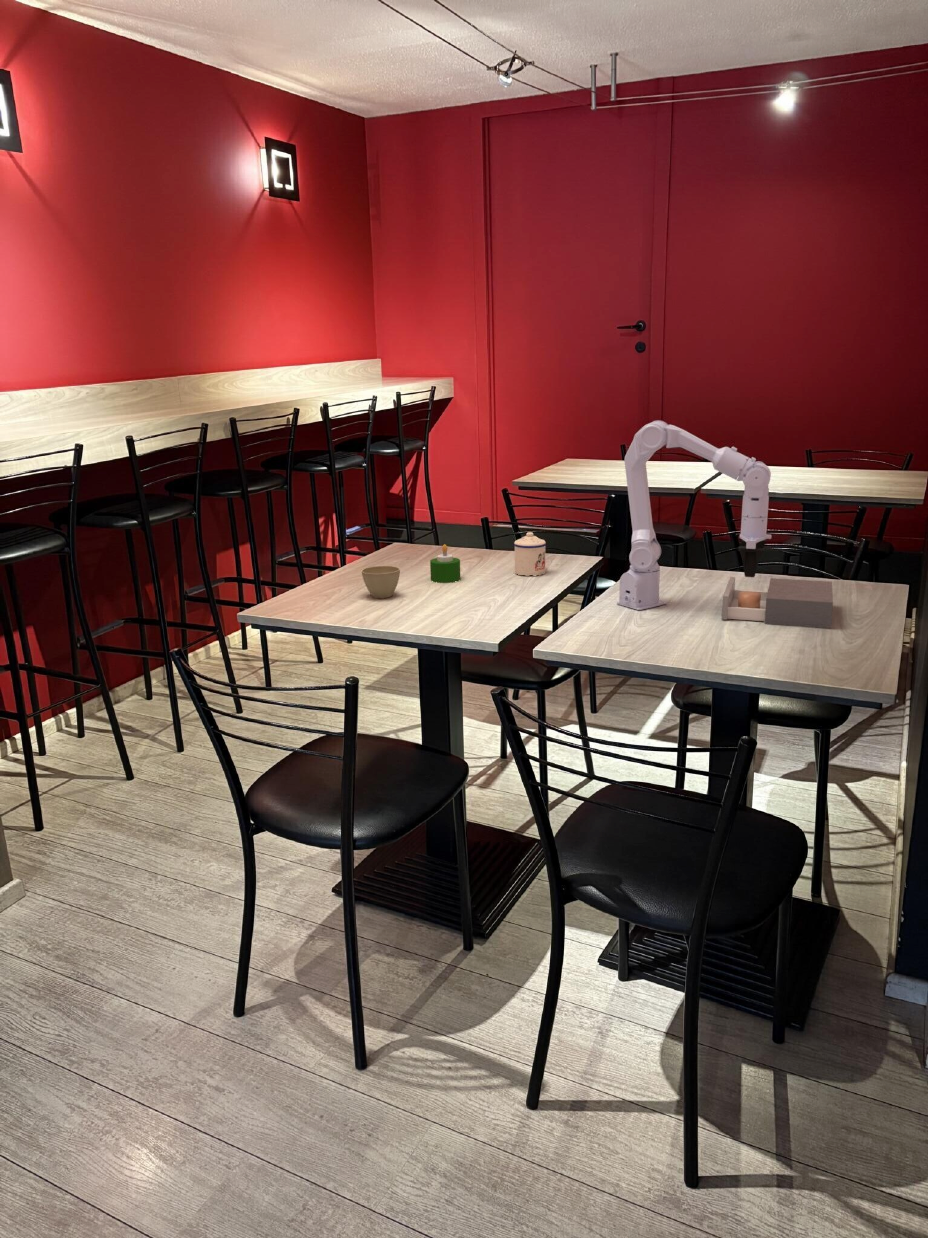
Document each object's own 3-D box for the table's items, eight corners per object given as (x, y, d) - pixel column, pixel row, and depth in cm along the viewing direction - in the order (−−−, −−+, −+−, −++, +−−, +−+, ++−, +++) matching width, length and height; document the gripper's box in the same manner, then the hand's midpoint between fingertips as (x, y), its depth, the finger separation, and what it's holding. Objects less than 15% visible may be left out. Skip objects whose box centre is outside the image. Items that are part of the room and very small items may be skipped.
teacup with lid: (540, 577, 260) (540, 536, 257) (509, 575, 264) (509, 534, 260) (552, 568, 271) (552, 528, 268) (522, 566, 274) (522, 527, 271)
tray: (779, 602, 230) (781, 579, 228) (776, 623, 212) (777, 599, 210) (729, 598, 234) (730, 576, 232) (721, 619, 216) (722, 596, 214)
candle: (426, 582, 258) (425, 546, 256) (436, 575, 266) (435, 540, 263) (455, 583, 256) (454, 547, 253) (464, 576, 264) (463, 541, 261)
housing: (829, 605, 226) (832, 581, 224) (830, 628, 208) (832, 602, 206) (769, 601, 231) (770, 578, 229) (764, 623, 213) (766, 598, 211)
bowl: (404, 591, 249) (402, 565, 247) (397, 601, 240) (396, 573, 238) (367, 591, 250) (365, 565, 248) (359, 600, 241) (357, 573, 239)
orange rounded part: (750, 612, 219) (751, 597, 218) (733, 607, 223) (734, 593, 222) (764, 608, 222) (765, 594, 221) (747, 604, 226) (748, 590, 225)
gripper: (771, 521, 209) (767, 581, 213) (774, 511, 222) (770, 567, 226) (738, 520, 211) (734, 579, 215) (743, 510, 224) (739, 565, 228)
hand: (750, 573), depth 220 cm, fingers open, 7 cm apart
